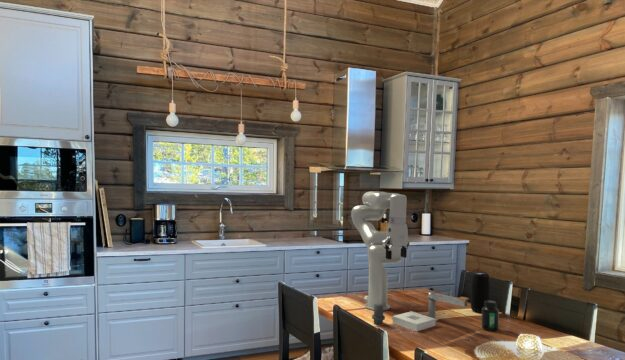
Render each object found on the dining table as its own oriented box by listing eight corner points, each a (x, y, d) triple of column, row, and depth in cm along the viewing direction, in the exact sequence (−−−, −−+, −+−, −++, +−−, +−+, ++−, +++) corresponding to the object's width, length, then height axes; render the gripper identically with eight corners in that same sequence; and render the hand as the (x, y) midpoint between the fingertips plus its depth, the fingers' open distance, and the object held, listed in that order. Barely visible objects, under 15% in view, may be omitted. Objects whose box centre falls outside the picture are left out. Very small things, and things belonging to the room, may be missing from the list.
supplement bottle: (495, 332, 176) (495, 304, 176) (479, 328, 181) (479, 301, 181) (500, 329, 181) (501, 301, 181) (485, 325, 186) (485, 298, 186)
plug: (369, 324, 182) (369, 304, 182) (377, 322, 186) (378, 302, 186) (378, 328, 178) (379, 307, 178) (387, 325, 181) (387, 305, 181)
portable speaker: (467, 311, 207) (467, 272, 207) (475, 307, 213) (475, 269, 214) (484, 315, 201) (485, 274, 201) (491, 311, 207) (492, 272, 208)
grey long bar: (465, 307, 176) (465, 299, 176) (426, 298, 189) (426, 290, 190) (468, 305, 179) (469, 298, 179) (430, 296, 192) (430, 289, 192)
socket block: (392, 325, 182) (393, 302, 183) (422, 316, 196) (423, 295, 196) (416, 333, 172) (416, 309, 172) (446, 324, 185) (447, 301, 186)
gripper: (389, 222, 182) (388, 261, 182) (416, 221, 192) (415, 258, 192) (378, 220, 188) (376, 258, 189) (404, 219, 198) (403, 255, 198)
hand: (396, 258), depth 190 cm, fingers open, 9 cm apart
